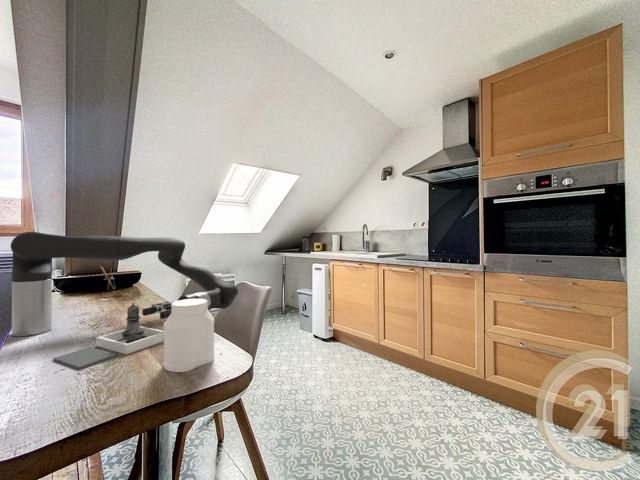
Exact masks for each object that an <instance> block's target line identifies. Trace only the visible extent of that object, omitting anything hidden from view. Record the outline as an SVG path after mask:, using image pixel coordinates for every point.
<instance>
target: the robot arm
mask: <svg viewBox="0 0 640 480" xmlns="http://www.w3.org/2000/svg"><path fill="white" fill-rule="evenodd" d="M10 249H11V251H12V269H11V336H12V335H14V336H13V337H26V336H27V337H29V336H34V335H38V334H43V333H45V332H48V331H51V330H52V329H53V326H52V325H53V259H59V258H61V259H62V258H64V259H65V258H66V259H67V258H69V259H70V258H72V259H83V260H93V261H124V260H128V259H130V258H133V257H136V256H139V255H142V254H145V253H150V252H158V253H157V258H158V260H159V262H161V264H163V265H165V266H167V267H168V268H170V269H171V270H174V271H175V272H177V273H179V274H181V275H183V276H185V277H187V278H188V279H190V280H192V282H194V283H195V284H196V285H198V286H199V287H200V288H202V289H203V290H205V291H200V292H194V293H190V294H189V293H188V294H184V295H183V294H182V295H181V296H179V297H178V299H177V301H179V300H185V299H205V300H207V306H208V307H207V308H208V311H209V310H211V309H222V310H223V309H227V308H230V307H231V305H232V304H233V302H234V300H235V299H236V297H237V295H238V293H239V290H238V287H237V285H235V284H233V283H232V282H230V281H229V282H228V281H227V280H226V281H225V280H224V279H221V278H219V277H218V276H216V275H215V274H214V273H213V272H211V271H210V270H208V269H207V268H205V267H202V266H201V267H200V266H196V265H195V266H194V265H192V264H191V265H190V264H188V263H186V261H184V259H182V257H183V254H184V253H185V249H186V243H185V242H184V241H183V240H182V239H181V238H176V237H168V236H167V237H166V236H165V237H133V236H132V237H128V236H127V237H126V236H119V235H117V236H116V235H81V236H79V235H77V236H73V235H72V236H71V235H70V236H68V235H59V234H51V233H43V232H38V231H25V232H22V233H20V234H18V235H16V236H15V237H14V238H13V239H12V240H11V243H10ZM216 289H219V291H217V290H216ZM173 302H174V301H171V302H169V301H164V302H159V303H153V304H151V306H149V307H146V308H143V309H142V310H141V311H142V313H141V316H144V317H146V316H150V315H155V314H159V319H160V320H163V319H164V320H165V319H168V317H169V316H170V314H171V310H172V309H171V308H172V307H171V304H172V303H173Z"/></svg>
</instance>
